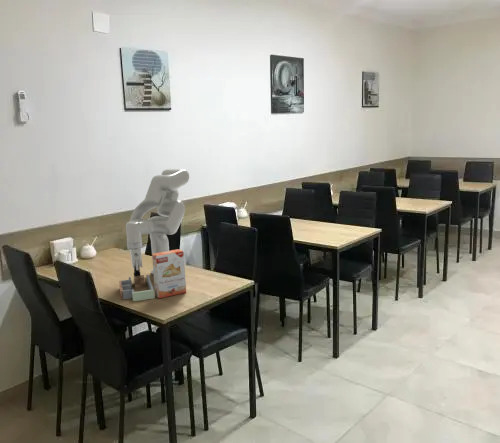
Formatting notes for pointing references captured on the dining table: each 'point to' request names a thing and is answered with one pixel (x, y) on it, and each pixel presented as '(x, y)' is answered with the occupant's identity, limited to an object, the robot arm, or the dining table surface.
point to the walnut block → (139, 281)
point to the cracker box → (169, 273)
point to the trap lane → (129, 293)
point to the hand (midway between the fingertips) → (137, 279)
